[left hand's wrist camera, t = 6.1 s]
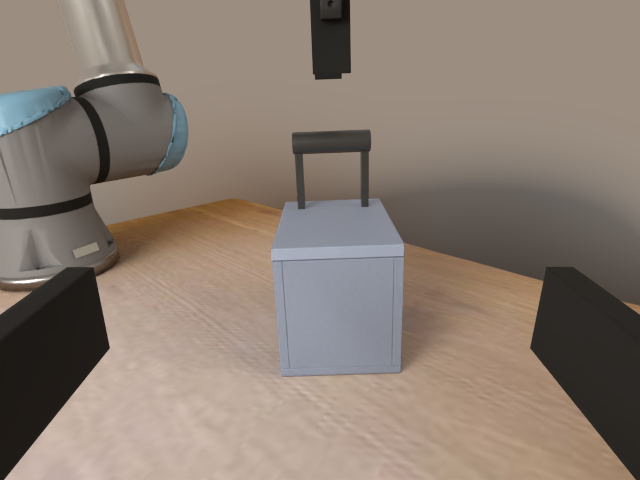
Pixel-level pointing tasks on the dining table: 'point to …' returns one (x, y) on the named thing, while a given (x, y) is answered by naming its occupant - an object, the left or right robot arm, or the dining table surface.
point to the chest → (339, 315)
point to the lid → (334, 210)
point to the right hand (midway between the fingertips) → (329, 77)
